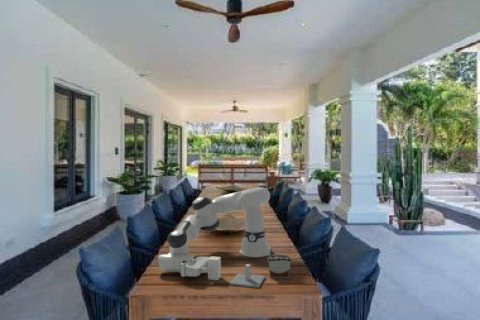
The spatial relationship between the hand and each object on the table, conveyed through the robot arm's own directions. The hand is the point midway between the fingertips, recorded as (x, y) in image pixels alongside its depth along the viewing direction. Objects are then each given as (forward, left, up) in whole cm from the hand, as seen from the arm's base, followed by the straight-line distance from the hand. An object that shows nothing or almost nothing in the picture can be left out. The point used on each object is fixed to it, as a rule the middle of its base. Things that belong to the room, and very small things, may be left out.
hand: (214, 267), depth 204 cm
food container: (-12, +30, -6) cm, 33 cm away
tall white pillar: (0, 0, -6) cm, 6 cm away
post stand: (0, +17, -6) cm, 18 cm away
